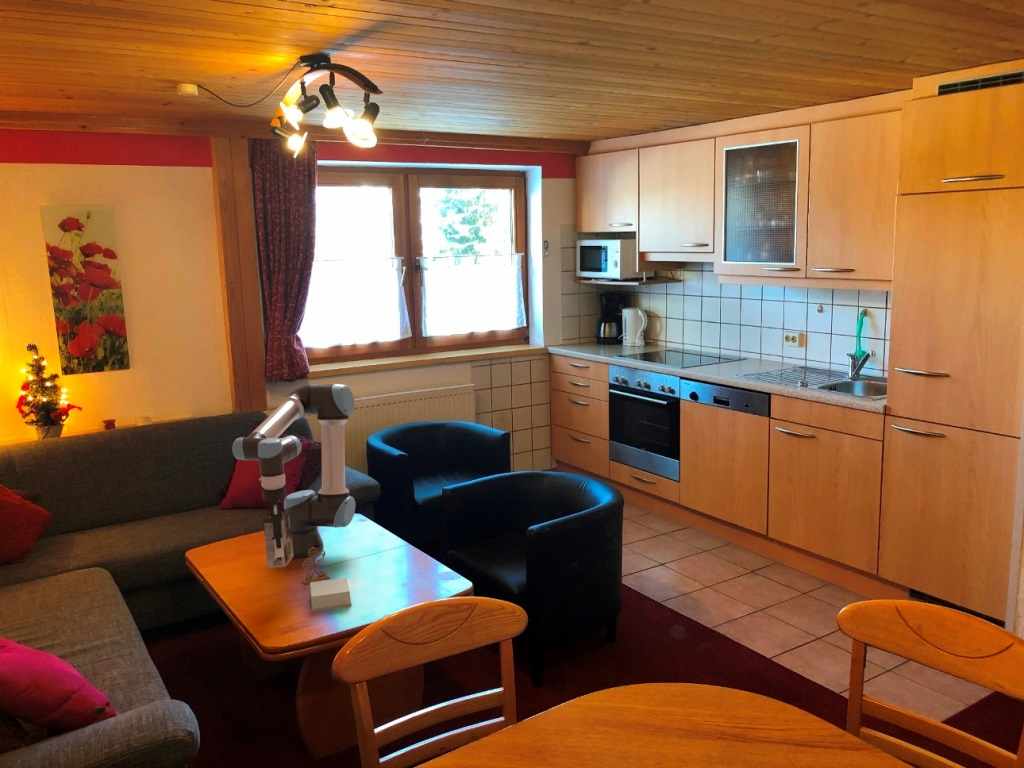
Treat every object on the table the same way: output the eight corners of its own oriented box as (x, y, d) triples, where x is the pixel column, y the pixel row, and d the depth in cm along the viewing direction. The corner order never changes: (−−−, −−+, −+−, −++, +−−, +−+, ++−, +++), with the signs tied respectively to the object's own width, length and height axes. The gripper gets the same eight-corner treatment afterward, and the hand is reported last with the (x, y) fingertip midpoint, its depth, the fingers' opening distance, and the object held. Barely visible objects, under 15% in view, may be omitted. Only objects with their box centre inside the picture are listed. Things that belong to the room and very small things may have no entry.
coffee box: (275, 556, 275) (271, 511, 272) (294, 556, 275) (290, 510, 272) (266, 567, 266) (262, 520, 263) (286, 567, 266) (281, 520, 263)
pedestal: (310, 596, 273) (309, 582, 272) (348, 590, 276) (347, 576, 275) (311, 611, 261) (310, 597, 260) (351, 606, 264) (350, 591, 263)
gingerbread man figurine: (304, 585, 283) (301, 552, 281) (301, 581, 286) (298, 548, 284) (329, 579, 287) (327, 546, 285) (326, 575, 290) (323, 543, 288)
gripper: (262, 478, 276) (268, 540, 280) (261, 498, 254) (267, 565, 258) (285, 475, 278) (290, 537, 282) (286, 495, 256) (292, 561, 260)
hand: (279, 550), depth 270 cm, fingers closed on coffee box, 10 cm apart
